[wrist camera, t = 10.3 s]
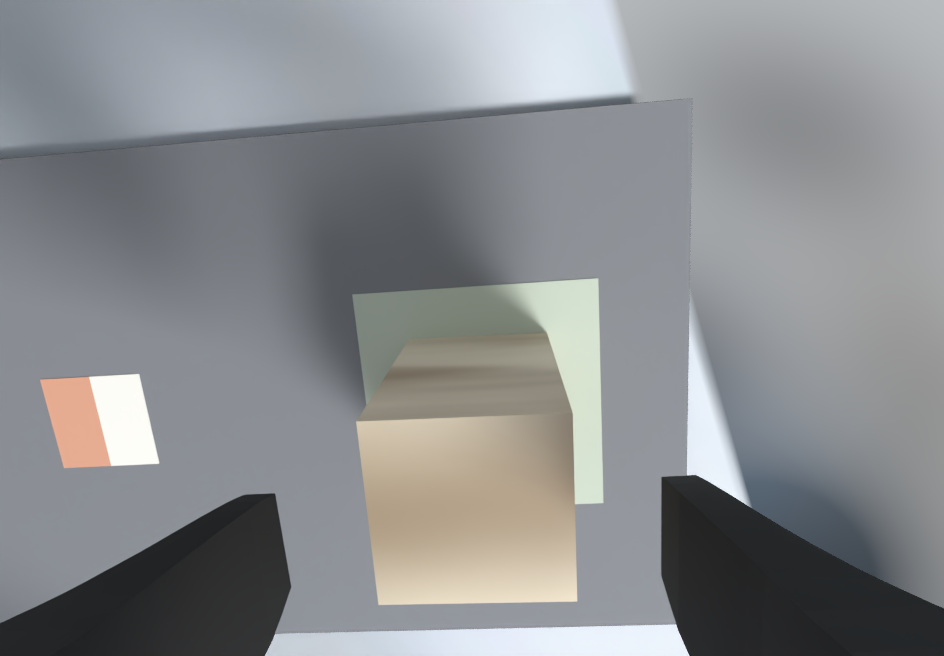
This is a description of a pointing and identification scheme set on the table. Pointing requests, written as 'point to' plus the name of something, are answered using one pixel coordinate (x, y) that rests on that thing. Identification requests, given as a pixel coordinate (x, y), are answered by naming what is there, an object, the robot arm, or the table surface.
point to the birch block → (471, 473)
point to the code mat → (336, 340)
